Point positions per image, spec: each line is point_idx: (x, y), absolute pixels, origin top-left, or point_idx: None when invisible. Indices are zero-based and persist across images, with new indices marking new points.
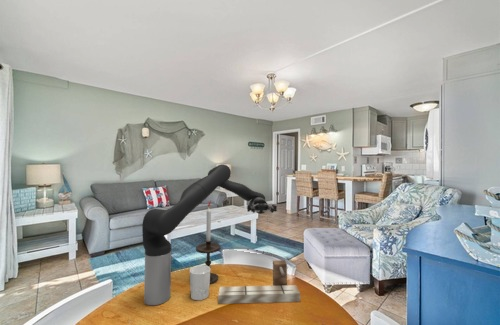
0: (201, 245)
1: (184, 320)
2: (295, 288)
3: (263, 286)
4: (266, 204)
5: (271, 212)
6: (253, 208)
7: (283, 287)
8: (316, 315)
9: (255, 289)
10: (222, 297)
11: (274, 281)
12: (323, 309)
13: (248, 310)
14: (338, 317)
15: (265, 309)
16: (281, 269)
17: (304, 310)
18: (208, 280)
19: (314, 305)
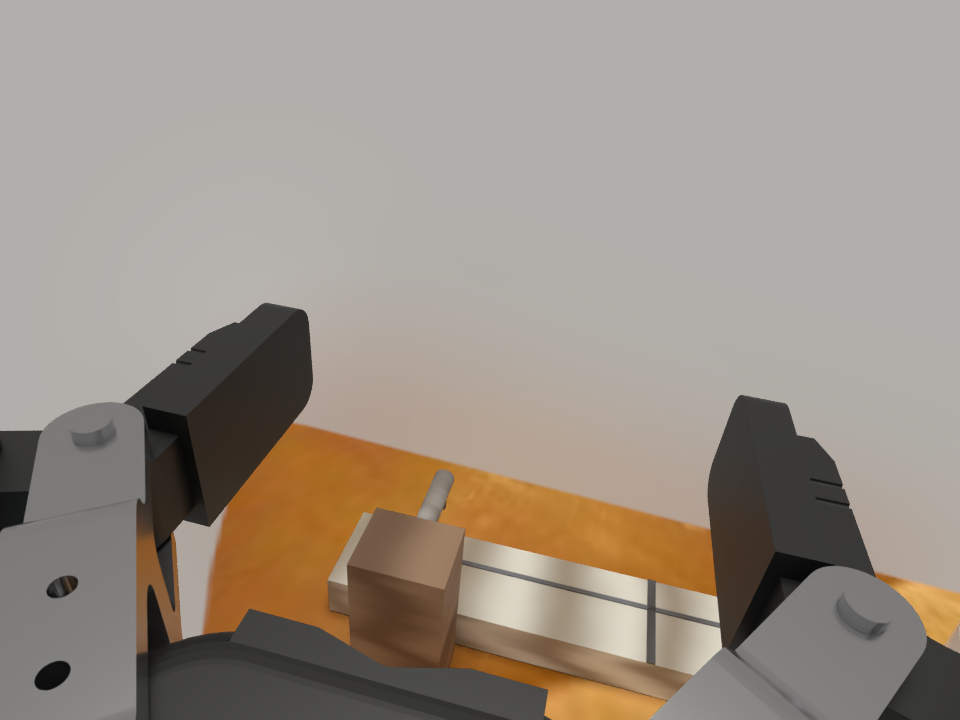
0: None
1: (916, 582)
2: None
3: (532, 627)
4: (77, 638)
5: (303, 404)
6: (773, 404)
7: None
8: (364, 461)
9: (590, 610)
10: None
11: (457, 606)
12: (308, 476)
13: (632, 559)
14: (296, 434)
15: (552, 543)
16: (435, 498)
17: (388, 493)
18: None
19: (322, 504)
